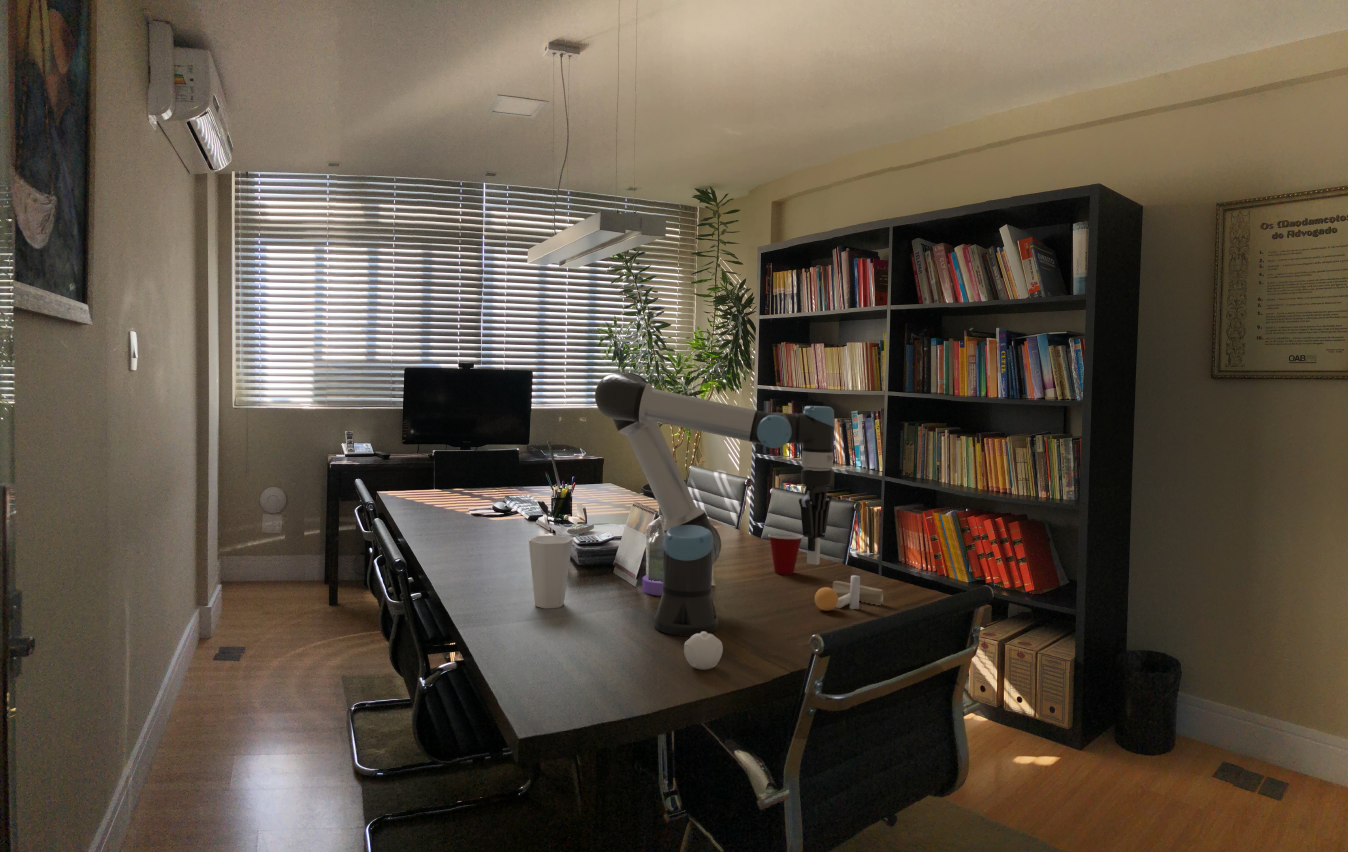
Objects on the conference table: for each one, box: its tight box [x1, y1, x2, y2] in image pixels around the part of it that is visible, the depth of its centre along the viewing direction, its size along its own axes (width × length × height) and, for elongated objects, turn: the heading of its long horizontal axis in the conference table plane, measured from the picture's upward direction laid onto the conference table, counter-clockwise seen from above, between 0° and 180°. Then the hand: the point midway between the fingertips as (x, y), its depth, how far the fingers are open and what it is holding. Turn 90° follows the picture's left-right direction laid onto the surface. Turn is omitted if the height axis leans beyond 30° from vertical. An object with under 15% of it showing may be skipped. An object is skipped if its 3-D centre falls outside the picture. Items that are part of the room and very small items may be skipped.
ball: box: [814, 586, 839, 612], centre depth 209 cm, size 6×6×6 cm
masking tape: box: [642, 574, 663, 597], centre depth 225 cm, size 12×12×4 cm
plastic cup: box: [767, 533, 804, 576], centre depth 250 cm, size 11×11×12 cm
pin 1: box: [835, 593, 850, 609], centre depth 215 cm, size 2×2×8 cm
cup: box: [528, 534, 574, 610], centre depth 206 cm, size 11×10×17 cm
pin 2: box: [849, 574, 861, 610], centre depth 212 cm, size 2×2×8 cm
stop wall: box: [832, 580, 884, 606], centre depth 220 cm, size 2×14×4 cm, turn 52°
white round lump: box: [683, 631, 724, 671], centre depth 164 cm, size 8×8×8 cm
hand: (813, 563), depth 199 cm, fingers closed
